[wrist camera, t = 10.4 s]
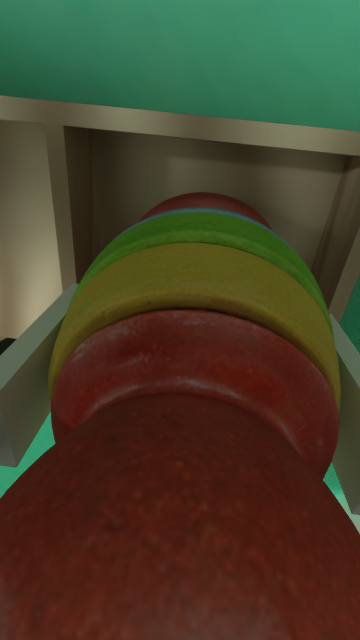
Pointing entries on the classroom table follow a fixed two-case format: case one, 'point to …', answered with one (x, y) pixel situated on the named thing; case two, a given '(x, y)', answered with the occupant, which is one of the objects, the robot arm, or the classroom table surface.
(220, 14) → the classroom table surface
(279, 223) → the divided wooden tray
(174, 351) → the stacking bear
